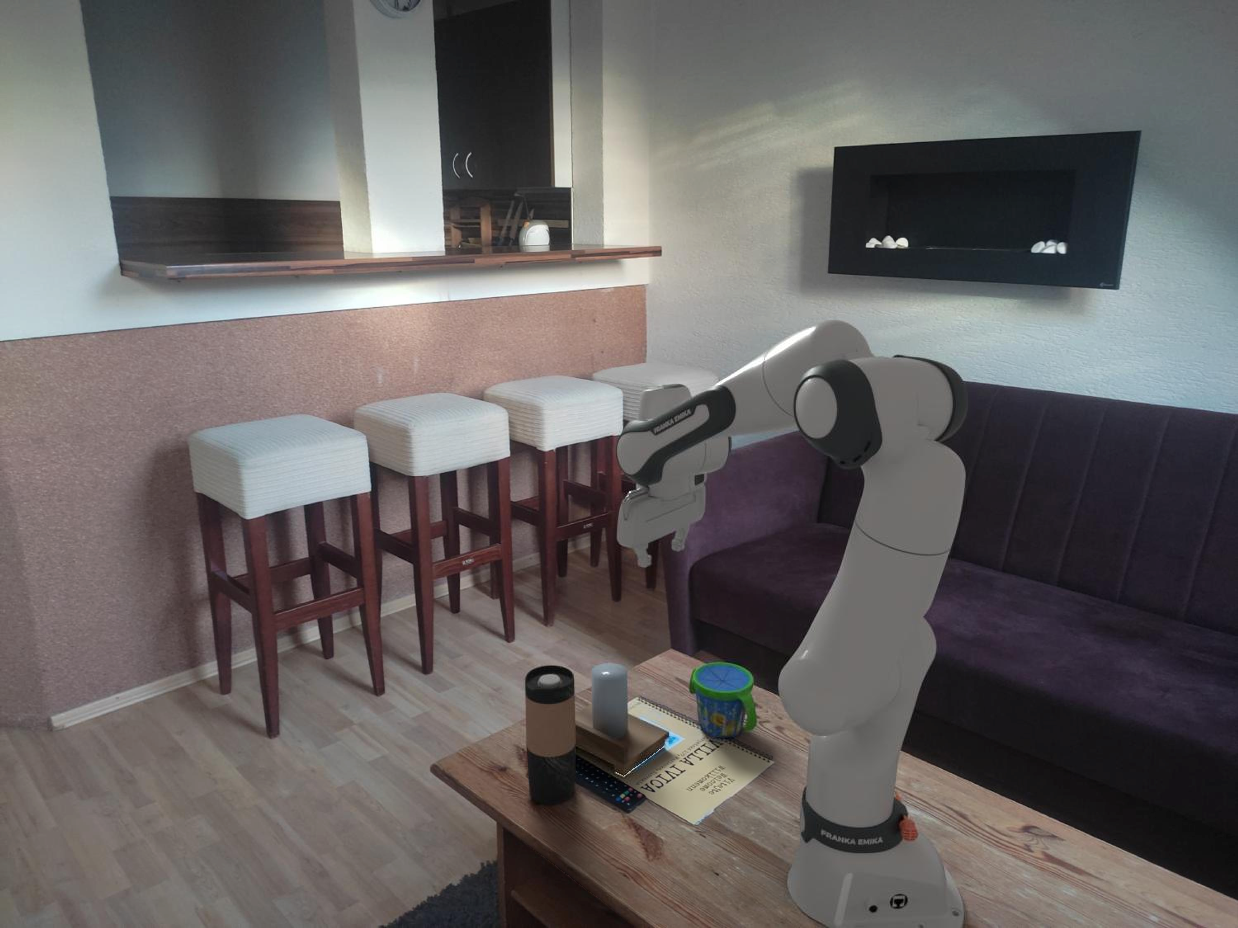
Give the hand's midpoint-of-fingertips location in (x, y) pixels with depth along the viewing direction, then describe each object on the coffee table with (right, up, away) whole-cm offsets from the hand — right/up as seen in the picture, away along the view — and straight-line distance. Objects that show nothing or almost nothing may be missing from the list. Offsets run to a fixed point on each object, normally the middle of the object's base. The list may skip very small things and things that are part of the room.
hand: (661, 557), depth 152 cm
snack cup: (+11, -31, +6) cm, 33 cm away
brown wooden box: (-9, -32, +1) cm, 33 cm away
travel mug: (-18, -36, -11) cm, 41 cm away
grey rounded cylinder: (-9, -29, 0) cm, 30 cm away
